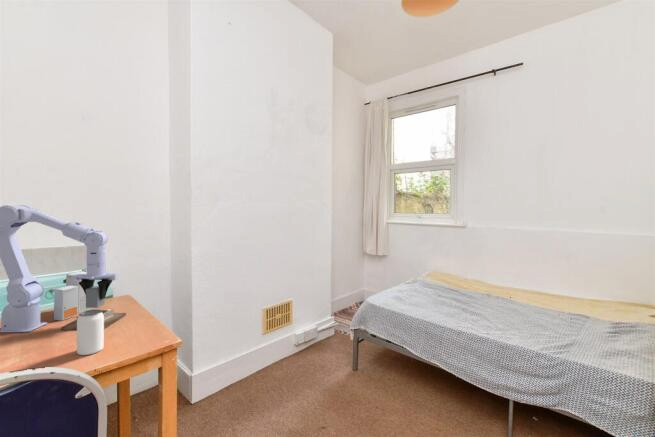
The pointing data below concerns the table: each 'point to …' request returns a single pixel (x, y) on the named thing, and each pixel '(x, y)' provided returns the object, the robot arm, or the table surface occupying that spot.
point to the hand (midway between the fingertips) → (96, 298)
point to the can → (90, 332)
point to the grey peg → (93, 297)
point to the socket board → (108, 319)
